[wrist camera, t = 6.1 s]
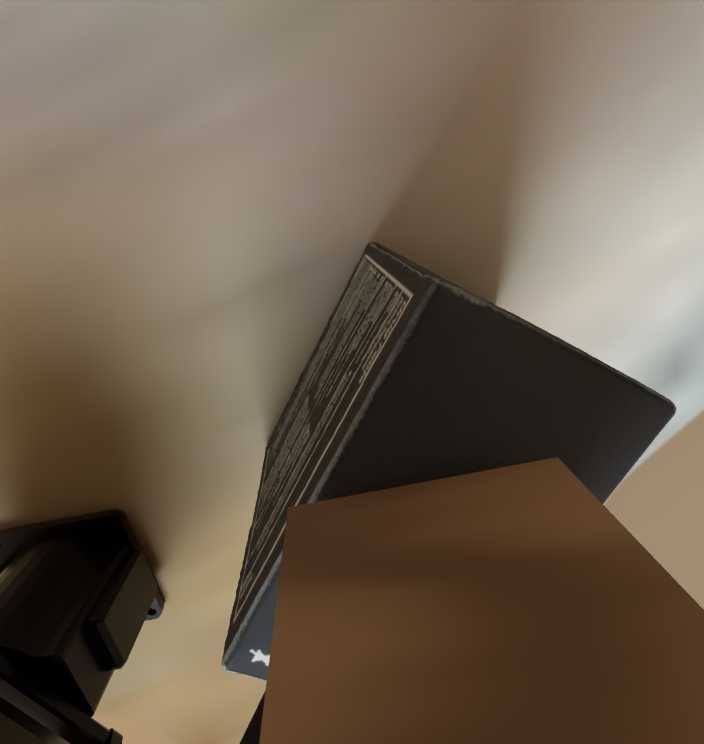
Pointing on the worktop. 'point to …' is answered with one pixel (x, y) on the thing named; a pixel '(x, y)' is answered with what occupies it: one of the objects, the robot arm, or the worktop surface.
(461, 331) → the small box
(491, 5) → the worktop surface
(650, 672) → the walnut cube
